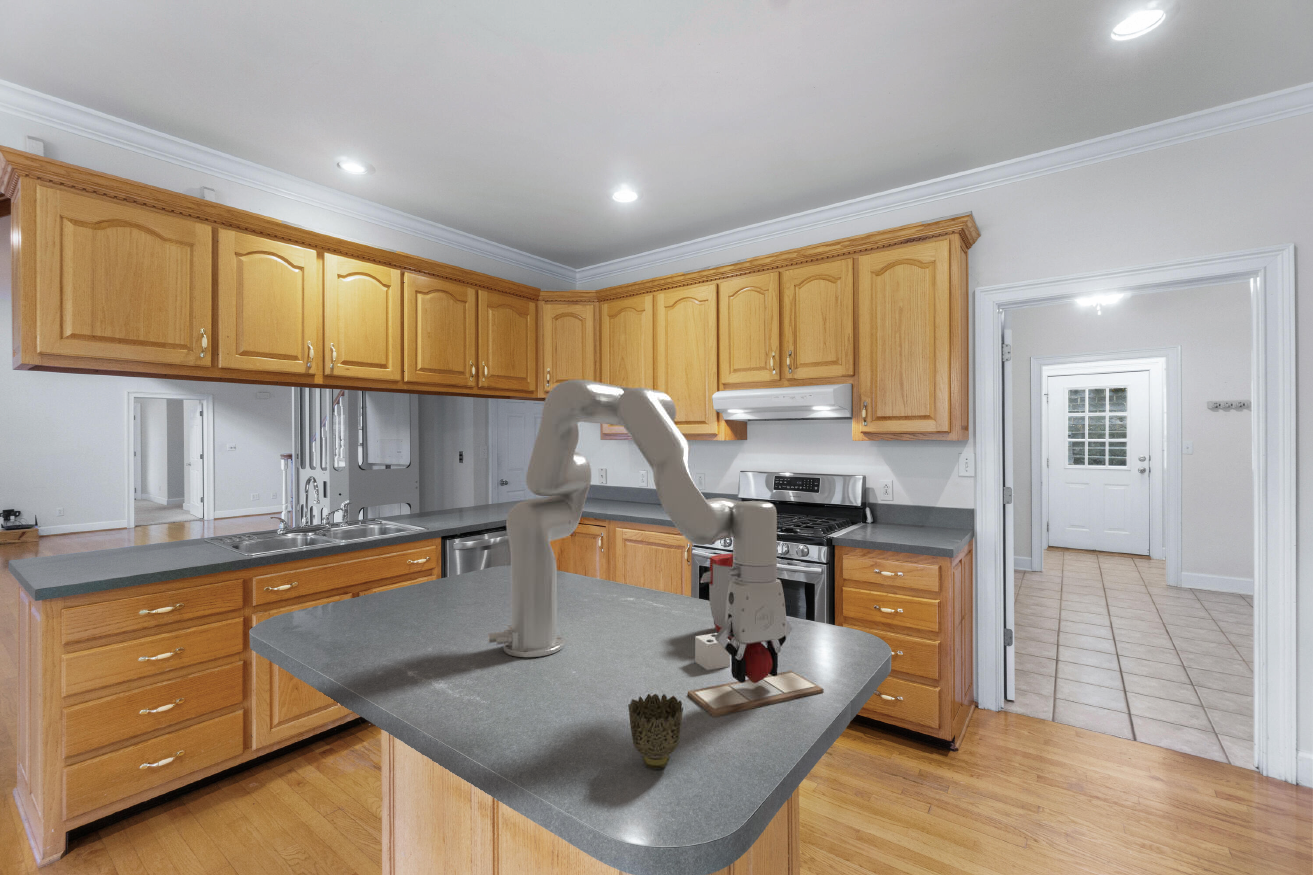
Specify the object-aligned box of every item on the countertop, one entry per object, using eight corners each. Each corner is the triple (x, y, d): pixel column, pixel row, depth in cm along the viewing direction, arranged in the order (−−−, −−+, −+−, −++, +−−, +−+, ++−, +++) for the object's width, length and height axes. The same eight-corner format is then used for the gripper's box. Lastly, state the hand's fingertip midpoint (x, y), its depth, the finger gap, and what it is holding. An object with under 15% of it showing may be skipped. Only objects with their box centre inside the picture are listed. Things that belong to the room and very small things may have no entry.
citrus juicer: (699, 622, 141) (699, 540, 141) (770, 622, 140) (770, 540, 141) (702, 644, 125) (702, 551, 125) (782, 644, 125) (782, 552, 125)
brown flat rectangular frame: (714, 716, 91) (714, 711, 91) (687, 694, 100) (687, 690, 100) (823, 692, 101) (823, 687, 101) (791, 673, 109) (791, 669, 109)
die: (707, 670, 110) (707, 643, 110) (695, 661, 115) (695, 635, 115) (730, 666, 112) (729, 639, 113) (717, 657, 117) (716, 632, 117)
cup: (627, 750, 81) (627, 693, 81) (679, 748, 82) (679, 691, 82) (629, 781, 74) (629, 718, 74) (686, 778, 74) (686, 715, 75)
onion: (775, 679, 102) (775, 633, 102) (767, 692, 96) (767, 643, 96) (743, 673, 104) (743, 629, 104) (734, 685, 99) (734, 638, 99)
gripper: (723, 582, 93) (723, 693, 93) (808, 572, 101) (808, 676, 100) (701, 572, 100) (700, 676, 100) (782, 564, 107) (782, 661, 107)
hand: (754, 675), depth 100 cm, fingers closed on onion, 5 cm apart
